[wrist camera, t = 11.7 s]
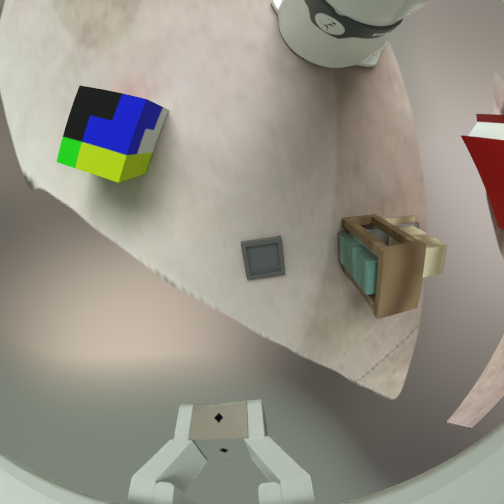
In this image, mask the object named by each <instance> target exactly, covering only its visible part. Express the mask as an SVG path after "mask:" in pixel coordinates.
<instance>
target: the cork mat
mask: <svg viewBox="0 0 504 504" xmlns="http://www.w3.org/2000/svg"><path fill="white" fill-rule="evenodd" d="M415 217H416V216H406V217H398V218H390V219H384V220H386V221H388V222H389V223H391V224H393V225H400V224H408V223H415Z"/></svg>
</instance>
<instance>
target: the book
mask: <svg viewBox="0 0 504 504" xmlns="http://www.w3.org/2000/svg"><path fill="white" fill-rule="evenodd" d="M461 137H462V139H463V140H464V143H465V144H466V146H467V148H468V150H469V152H470V154H471V157H472V159H473V161H474V163H475V165H476V167H477V169H478V172H479V174H480V176H481V179H482V181H483V183H484V186H485V189H486V191H487V194H488V196H489V199H490V202H491V205H492V207H493V210H494V213H495V216H496V220H497V223H498V226H499V228H501V229H503V230H504V115H490V114H477V124H476V125H475V126H474V128H473V129H472V130H471V132H470V133H469V135H468V136H461Z"/></svg>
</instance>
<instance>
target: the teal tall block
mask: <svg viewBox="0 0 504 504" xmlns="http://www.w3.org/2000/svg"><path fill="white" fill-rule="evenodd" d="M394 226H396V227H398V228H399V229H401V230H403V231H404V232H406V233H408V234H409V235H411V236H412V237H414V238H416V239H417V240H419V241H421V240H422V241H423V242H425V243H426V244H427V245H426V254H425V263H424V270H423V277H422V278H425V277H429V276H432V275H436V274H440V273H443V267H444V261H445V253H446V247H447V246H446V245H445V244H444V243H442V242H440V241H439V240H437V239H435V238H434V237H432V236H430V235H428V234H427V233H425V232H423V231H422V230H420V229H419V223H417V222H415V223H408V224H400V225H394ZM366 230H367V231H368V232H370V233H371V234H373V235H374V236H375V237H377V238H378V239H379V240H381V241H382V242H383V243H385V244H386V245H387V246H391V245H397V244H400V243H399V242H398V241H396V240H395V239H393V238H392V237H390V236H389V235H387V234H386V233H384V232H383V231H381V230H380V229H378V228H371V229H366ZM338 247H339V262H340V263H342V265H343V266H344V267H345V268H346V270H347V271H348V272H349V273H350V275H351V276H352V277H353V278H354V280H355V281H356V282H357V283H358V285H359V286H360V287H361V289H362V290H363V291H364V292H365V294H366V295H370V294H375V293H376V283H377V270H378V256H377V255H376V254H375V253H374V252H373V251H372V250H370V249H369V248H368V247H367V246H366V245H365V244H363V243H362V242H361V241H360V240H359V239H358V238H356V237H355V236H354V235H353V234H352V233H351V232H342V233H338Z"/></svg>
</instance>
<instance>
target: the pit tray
mask: <svg viewBox="0 0 504 504" xmlns="http://www.w3.org/2000/svg"><path fill="white" fill-rule="evenodd" d="M241 246H242V252H243V258H244V264H245V270H246V276H247V280H248V279H255V278H262V277H269V276H275V275H282V274H285V269H284V259H283V249H282V240H281V236H277V237H270V238H263V239H256V240H249V241H243V242H241Z"/></svg>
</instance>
